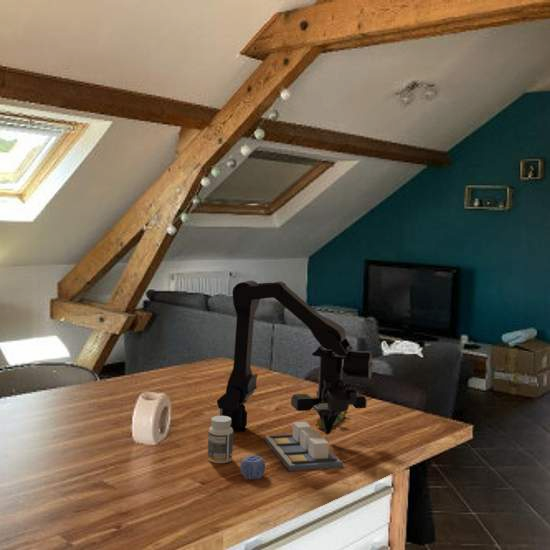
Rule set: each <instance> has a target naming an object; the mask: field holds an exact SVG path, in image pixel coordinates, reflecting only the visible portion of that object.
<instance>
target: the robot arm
mask: <svg viewBox="0 0 550 550" xmlns="http://www.w3.org/2000/svg"><path fill="white" fill-rule="evenodd" d="M231 295H232V304H233V309H234V310H235V311H234V312H235V314H236V325H235V337H234V339H235V340H234V350H233V351H234V353H233V354H234V355H233V368H232V370H231V373H230V375H229V377H228V382H227V385H226V389H225V393H224V394H223V395H221V396H220V397H219V398H218V399H217V400H216V404H217V407H218V409H219V416H227V417H230V418H231V425H230V427H231V428H232V429H233V432H241V431H243V432H245V431H247V428H246V427H247V425H248V424H247V423H248V411H247V410H246V406H245V404H246V403H247V401H248V399H249V398H250V397H251V396H253V394H254V392H255V390H257V389H258V387H257V379H258V374H257V373H253V372H252V368H251V364H252V363H251V360H252V352H253V351H252V348H253V336H254V334H253V333H254V321H255V319H254V318H255V313H256V311H257V309H258V307H259V304H260V300H263V299H264V300H265V299H273V298H274V299H275V300H276V301H277V302H278V303H280V304H281V305H282V306H283V307H284V308H285V309H287V310H288V311H289V312H291V314H292V315H294V316H295V317H296V318H297V319H298V320H299V321H300V322H302V323H303V325H305V326H306V327H307V328H308V329H309V330H310V332H311V334H312V335H313V337H314V338H315V340H316V341H317V342H318V343H319V346H318V347H317V349H316V350H315V351H313V352H312V353H311V356H314V357H319V371H318V375H317V376H316V378H317V379H316V381H318V388H317V389H318V390H316V395H315V396H317V397H311V396H310V395H308V394H307V393H296V394H293V395H292V397H291V398H290V405H291V406H292V407H293V408H294V409H295V410H296V411H298V412H306V411H307V412H308V411H311V410H312V409H314V411H316V412H317V414H318V416H319V419H321V422H322V425H323V427H322V429H323V430H324V435H330V434H331V431H332V429H333V427H334V426H335V425H334V422H335V420H336V418H337V417H338V415H339V414H340V413H344V412H345V411H346V410H347V411H348V410H349V406H350V405H352V407H354V408H355V409H366V408H367V405H368V404H367V403H368V401H367V398H366V397H365V395H363V394H362V393H360V392H358V391H356V389H353V388H352V389H345V387H344V385H345V384H344V380H343V379H342V378H343V373H344V374H345V375H346V376H347V377H349V378H358V379H366V380H367V379H368V380H371V378H372V374H373V368H374V367H373V364H374V363H373V356H372V351H371V350H364V351H363V350H362V351H361V350H354V348H353V347H352V345H351V344H350V342H349V340H348V339H347V338H346V337H347V336H346V331H345V328H344V327H343V326H342V325H340V324H338V323H337V322H335V321H334V320H332V319H331V318H327V317H326V316H323V315H321V314H320V313H318V312H317V311H316V310H315V309H314V308H313V307H311V306H310V305H309V303H307V302H306V301H304V299H302V298H301V297H300V296H298V294H296V293H295V292H294V291H293V290H292V289H291V288H290V287H288V286H287V284H286V283H285V282H283V281H275V282H262V283H261V282H260V283H259V282H256V281H255V280H246V281H242V282H240V283H237V284H235V286H234V287H233V288H232V294H231ZM333 425H334V426H333Z"/></svg>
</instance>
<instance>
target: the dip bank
mask: <svg viewBox="0 0 550 550" xmlns="http://www.w3.org/2000/svg"><path fill="white" fill-rule="evenodd" d="M292 434H293V433H292ZM292 434H290V433H289V434H279V435H278V434H275V435H264V436H263V438H264V439H263V441H265V443H266V444H267V445H268V446H269V447H270V448H269V449H271V450H272V451H273V453H274V454H275V455H276V456H277V458H278V459H279V460H280V461H281V463H283V465H284V467H286V468H287V470H288V472H289V471H303V470H304V471H305V470H316V469H318V470H319V469H330V468H342V467H343V466H344V463H343V461H342V460H341V459H340V458H339V457H338V456H337V455H335V453H333V451H331V450H330V449H329V448H328V458H324V459H313V458H312V457H311V456H310V455H309V454H308V450H305V449H304V448H303V447H302V446H301V445H300V442H297V441H296V440H295V439H294V438H293V437H292Z"/></svg>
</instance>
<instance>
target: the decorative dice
mask: <svg viewBox="0 0 550 550" xmlns="http://www.w3.org/2000/svg"><path fill="white" fill-rule="evenodd" d="M265 463H266V462H265V461H264V459H263V457H261V456H259V455H248V456H245V457H244V458H243V460H242V461H241V463H240V472H241V475H242V476H243V478H245V479H247V480H259V479H261V478H262V477H264V473H265V471H266V464H265Z"/></svg>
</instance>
